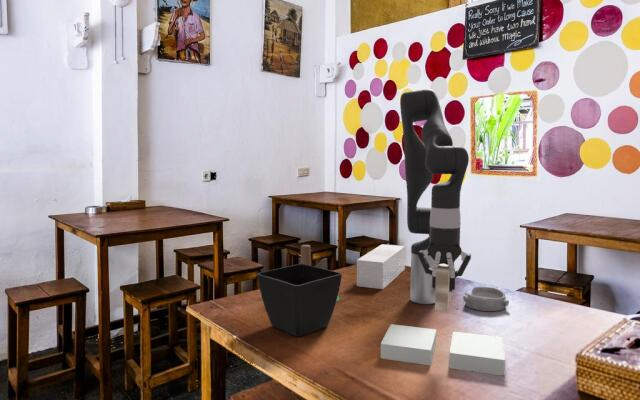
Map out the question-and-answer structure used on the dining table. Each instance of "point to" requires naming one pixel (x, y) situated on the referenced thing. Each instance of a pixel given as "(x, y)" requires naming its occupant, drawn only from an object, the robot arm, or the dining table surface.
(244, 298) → the dining table surface
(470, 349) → the slotted board
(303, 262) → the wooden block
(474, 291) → the dish
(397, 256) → the long white block
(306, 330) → the flower pot
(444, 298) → the beige metallic bar
